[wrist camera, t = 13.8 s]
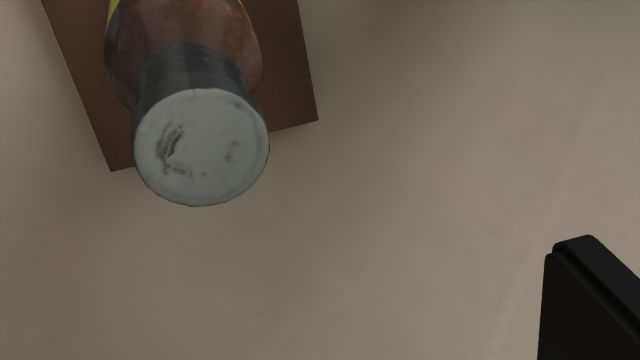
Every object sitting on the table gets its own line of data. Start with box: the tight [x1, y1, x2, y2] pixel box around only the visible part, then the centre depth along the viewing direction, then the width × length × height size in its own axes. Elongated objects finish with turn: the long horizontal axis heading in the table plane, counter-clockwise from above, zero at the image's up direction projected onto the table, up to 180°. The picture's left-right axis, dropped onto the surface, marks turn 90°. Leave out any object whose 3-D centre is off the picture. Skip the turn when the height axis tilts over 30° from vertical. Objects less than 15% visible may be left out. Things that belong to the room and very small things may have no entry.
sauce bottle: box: [104, 0, 270, 207], centre depth 25 cm, size 7×6×20 cm
